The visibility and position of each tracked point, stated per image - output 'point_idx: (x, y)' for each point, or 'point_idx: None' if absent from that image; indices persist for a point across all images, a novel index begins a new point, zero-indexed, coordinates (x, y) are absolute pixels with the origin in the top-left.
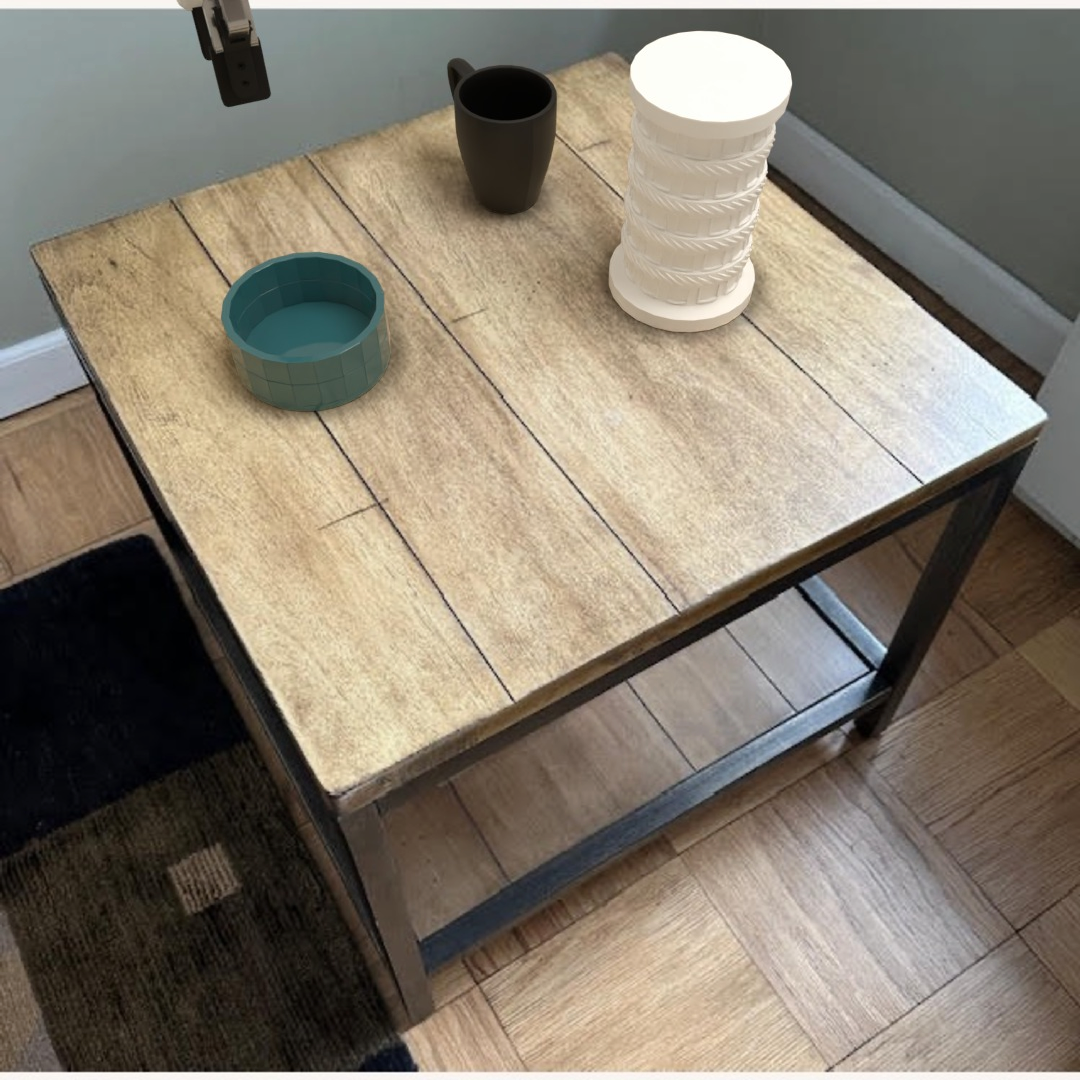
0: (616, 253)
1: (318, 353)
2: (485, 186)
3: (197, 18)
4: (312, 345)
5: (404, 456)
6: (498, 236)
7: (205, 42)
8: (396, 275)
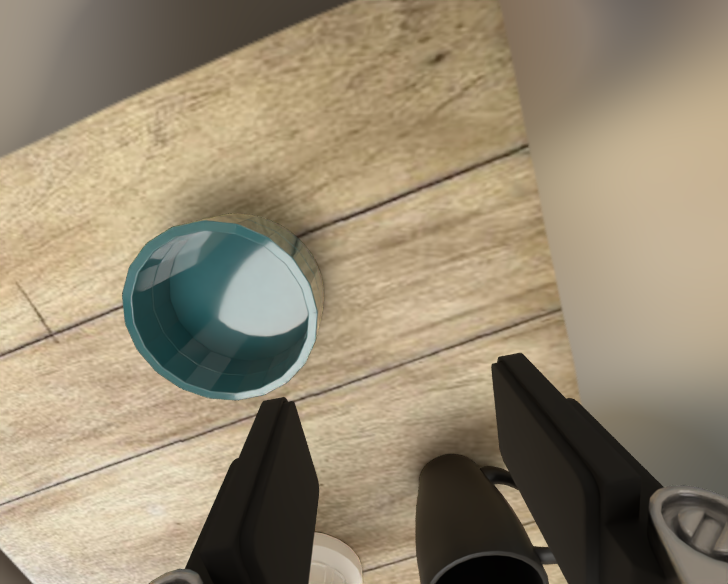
0: (329, 553)
1: (236, 300)
2: (427, 487)
3: (556, 450)
4: (248, 295)
5: (109, 360)
6: (390, 464)
7: (513, 397)
8: (352, 376)
